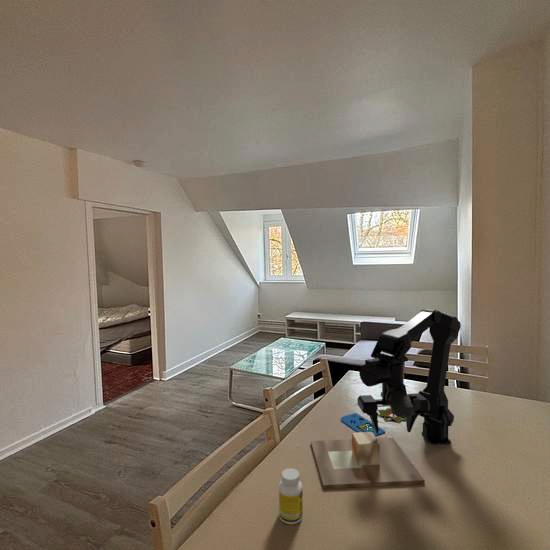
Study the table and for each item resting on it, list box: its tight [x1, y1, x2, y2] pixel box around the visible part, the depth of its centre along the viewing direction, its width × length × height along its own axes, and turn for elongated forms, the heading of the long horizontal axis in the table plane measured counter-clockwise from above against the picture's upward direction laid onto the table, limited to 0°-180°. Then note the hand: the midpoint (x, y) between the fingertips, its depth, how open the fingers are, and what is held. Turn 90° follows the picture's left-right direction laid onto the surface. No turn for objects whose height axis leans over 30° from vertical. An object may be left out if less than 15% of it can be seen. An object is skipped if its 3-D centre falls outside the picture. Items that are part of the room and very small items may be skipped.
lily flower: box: [378, 406, 406, 424], centre depth 120 cm, size 12×12×5 cm
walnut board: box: [310, 437, 426, 490], centre depth 93 cm, size 26×20×1 cm
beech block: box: [351, 431, 380, 466], centre depth 93 cm, size 6×6×6 cm
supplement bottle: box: [278, 467, 304, 525], centre depth 74 cm, size 5×5×10 cm
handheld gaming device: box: [340, 412, 386, 437], centre depth 113 cm, size 8×1×15 cm
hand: (392, 432), depth 93 cm, fingers open, 9 cm apart
